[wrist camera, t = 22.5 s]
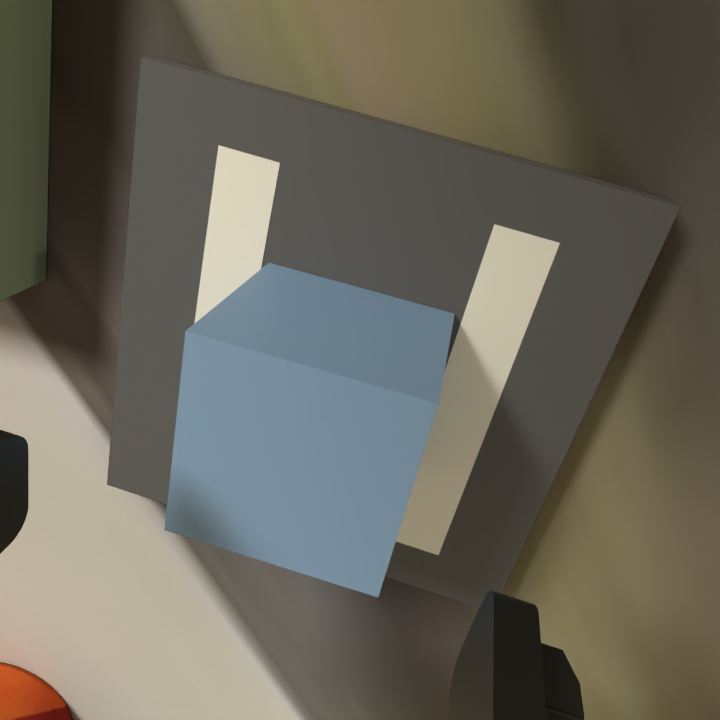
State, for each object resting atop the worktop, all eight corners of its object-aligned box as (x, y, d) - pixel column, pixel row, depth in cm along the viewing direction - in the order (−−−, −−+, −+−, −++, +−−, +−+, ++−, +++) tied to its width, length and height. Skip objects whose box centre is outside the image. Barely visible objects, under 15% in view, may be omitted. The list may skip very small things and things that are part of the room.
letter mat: (160, 57, 16) (140, 56, 15) (670, 199, 15) (681, 207, 14) (123, 467, 22) (106, 484, 21) (492, 589, 21) (492, 613, 20)
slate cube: (268, 262, 17) (185, 330, 12) (454, 313, 16) (438, 403, 12) (243, 422, 19) (164, 530, 14) (406, 470, 19) (378, 597, 14)
